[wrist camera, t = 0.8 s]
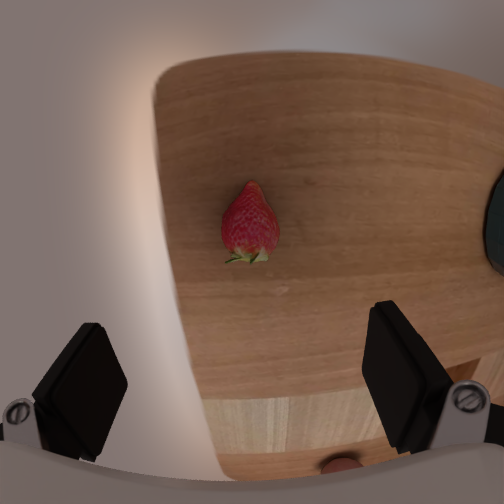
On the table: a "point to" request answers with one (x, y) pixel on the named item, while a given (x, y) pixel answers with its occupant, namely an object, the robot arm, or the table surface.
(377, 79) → the table surface
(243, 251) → the fruit
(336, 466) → the apple
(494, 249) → the bowl
